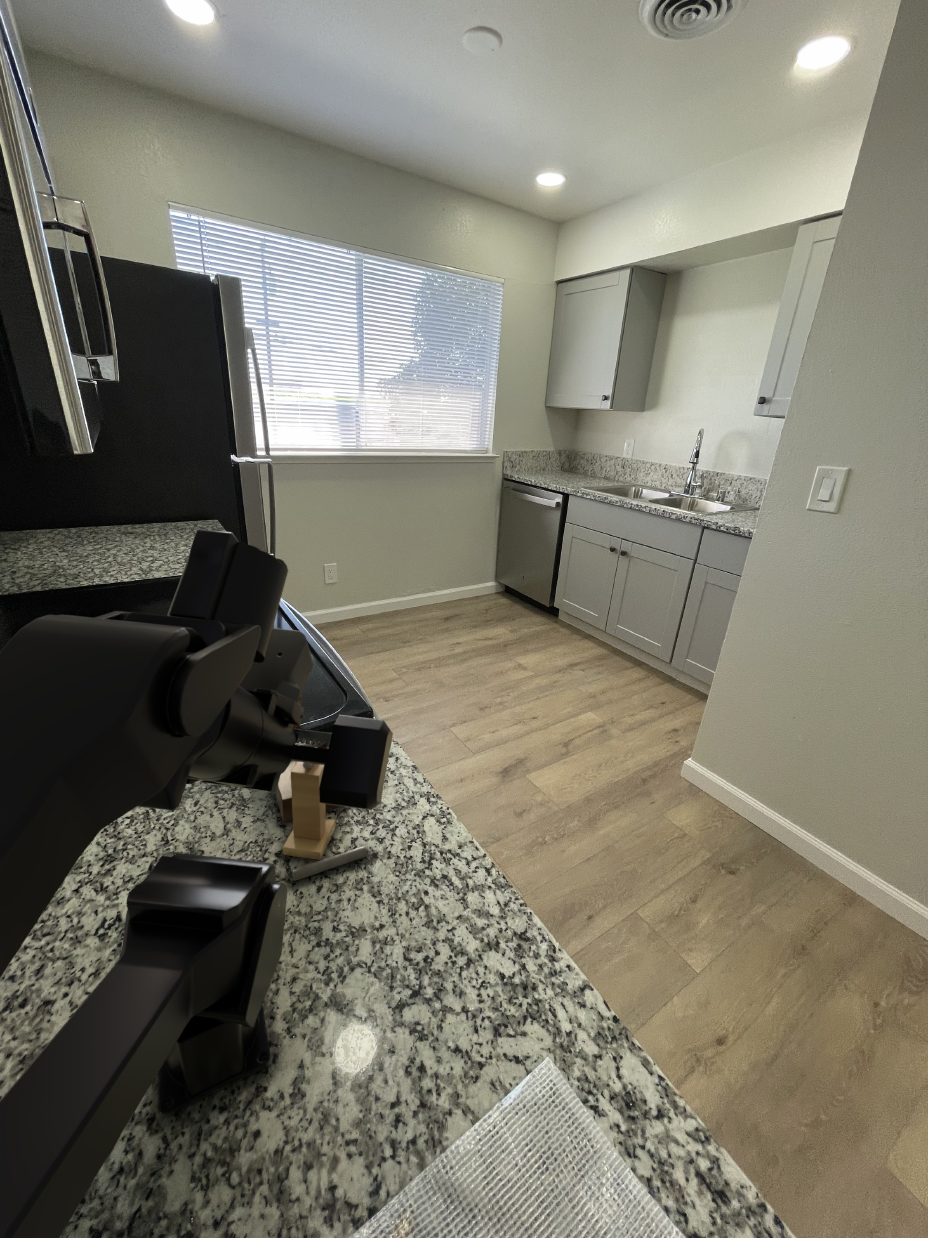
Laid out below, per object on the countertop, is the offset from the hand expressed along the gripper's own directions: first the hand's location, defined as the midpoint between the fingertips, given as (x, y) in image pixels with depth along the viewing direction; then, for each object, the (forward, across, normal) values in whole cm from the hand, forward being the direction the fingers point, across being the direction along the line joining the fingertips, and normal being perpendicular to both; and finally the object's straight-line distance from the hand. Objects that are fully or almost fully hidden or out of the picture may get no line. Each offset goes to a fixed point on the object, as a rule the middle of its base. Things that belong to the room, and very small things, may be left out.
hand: (295, 764), depth 45 cm
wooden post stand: (+10, 0, +6) cm, 12 cm away
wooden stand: (+13, +1, +4) cm, 13 cm away
